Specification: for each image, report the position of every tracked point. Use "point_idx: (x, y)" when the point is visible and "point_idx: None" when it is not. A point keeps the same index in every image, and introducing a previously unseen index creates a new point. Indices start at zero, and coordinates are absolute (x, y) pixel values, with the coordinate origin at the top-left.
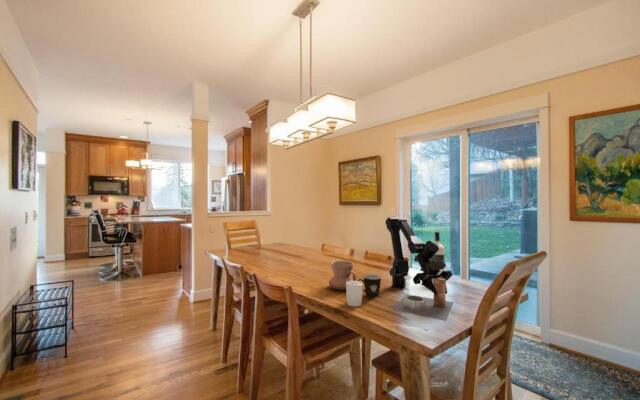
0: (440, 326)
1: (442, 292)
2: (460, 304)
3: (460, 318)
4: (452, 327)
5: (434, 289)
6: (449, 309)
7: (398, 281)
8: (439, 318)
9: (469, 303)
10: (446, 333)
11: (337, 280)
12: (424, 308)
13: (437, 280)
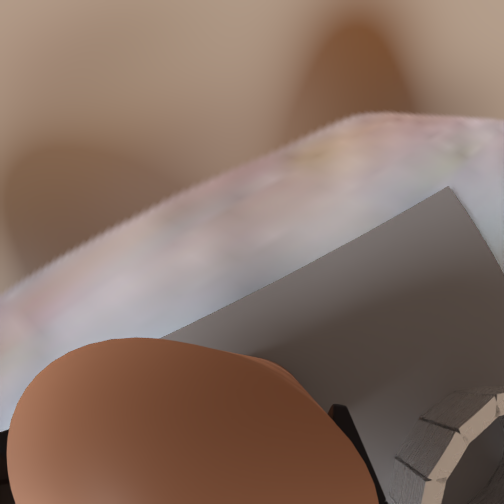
0: (489, 188)
1: (269, 362)
2: (56, 341)
3: (301, 188)
4: (443, 149)
5: (362, 458)
6: (256, 301)
7: None
8: (464, 226)
9: (11, 312)
10: (497, 139)
11: None
12: (453, 395)
13: (377, 497)
